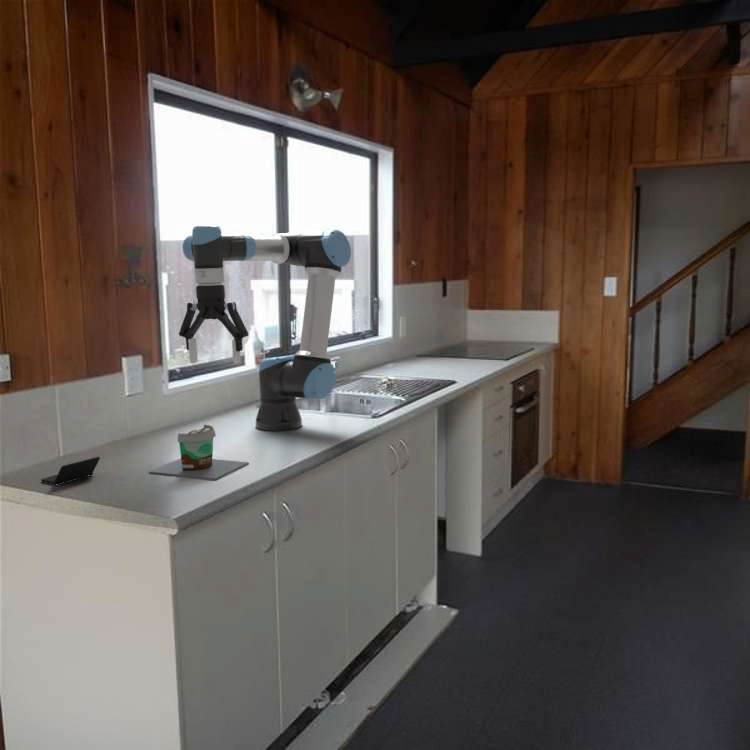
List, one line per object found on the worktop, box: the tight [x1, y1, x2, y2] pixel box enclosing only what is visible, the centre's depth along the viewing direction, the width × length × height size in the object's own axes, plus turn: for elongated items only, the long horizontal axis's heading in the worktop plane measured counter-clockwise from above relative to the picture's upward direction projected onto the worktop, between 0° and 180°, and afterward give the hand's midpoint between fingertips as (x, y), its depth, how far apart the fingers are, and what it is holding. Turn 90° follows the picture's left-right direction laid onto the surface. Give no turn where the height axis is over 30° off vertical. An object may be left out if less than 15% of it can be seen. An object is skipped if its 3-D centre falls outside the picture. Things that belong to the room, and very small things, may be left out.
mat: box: [148, 457, 250, 481], centre depth 195 cm, size 16×20×1 cm
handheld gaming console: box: [40, 456, 101, 486], centre depth 186 cm, size 12×7×10 cm
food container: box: [177, 424, 217, 471], centre depth 194 cm, size 12×6×10 cm, turn 159°
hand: (215, 362), depth 202 cm, fingers open, 13 cm apart
